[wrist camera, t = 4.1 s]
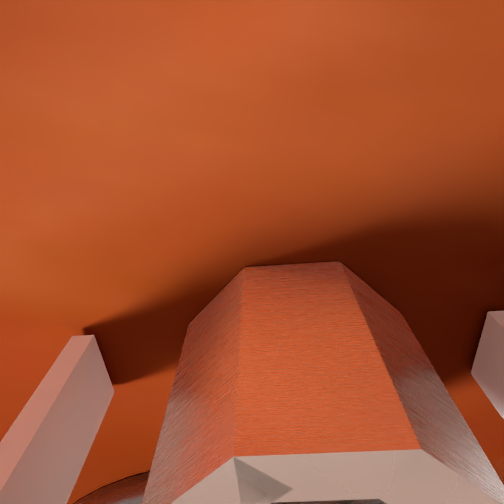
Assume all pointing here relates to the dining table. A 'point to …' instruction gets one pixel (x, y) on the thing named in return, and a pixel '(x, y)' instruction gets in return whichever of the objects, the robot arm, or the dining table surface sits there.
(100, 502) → the carrier
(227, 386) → the octagonal hollow container
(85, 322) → the dining table surface
